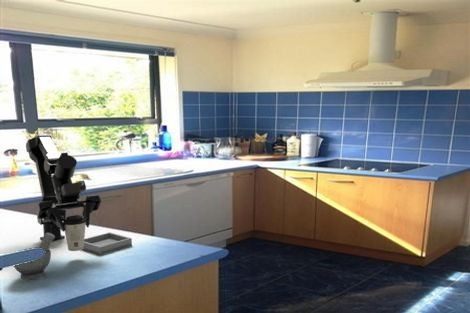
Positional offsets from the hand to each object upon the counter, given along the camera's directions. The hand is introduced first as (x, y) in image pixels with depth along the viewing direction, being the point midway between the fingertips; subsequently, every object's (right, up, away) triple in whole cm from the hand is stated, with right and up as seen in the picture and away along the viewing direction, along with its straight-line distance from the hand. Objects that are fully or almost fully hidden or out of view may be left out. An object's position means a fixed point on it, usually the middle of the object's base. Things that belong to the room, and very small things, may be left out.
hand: (76, 228), depth 136 cm
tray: (+5, -8, +15) cm, 18 cm away
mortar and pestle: (-7, -12, -12) cm, 18 cm away
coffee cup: (-1, -7, +2) cm, 7 cm away
